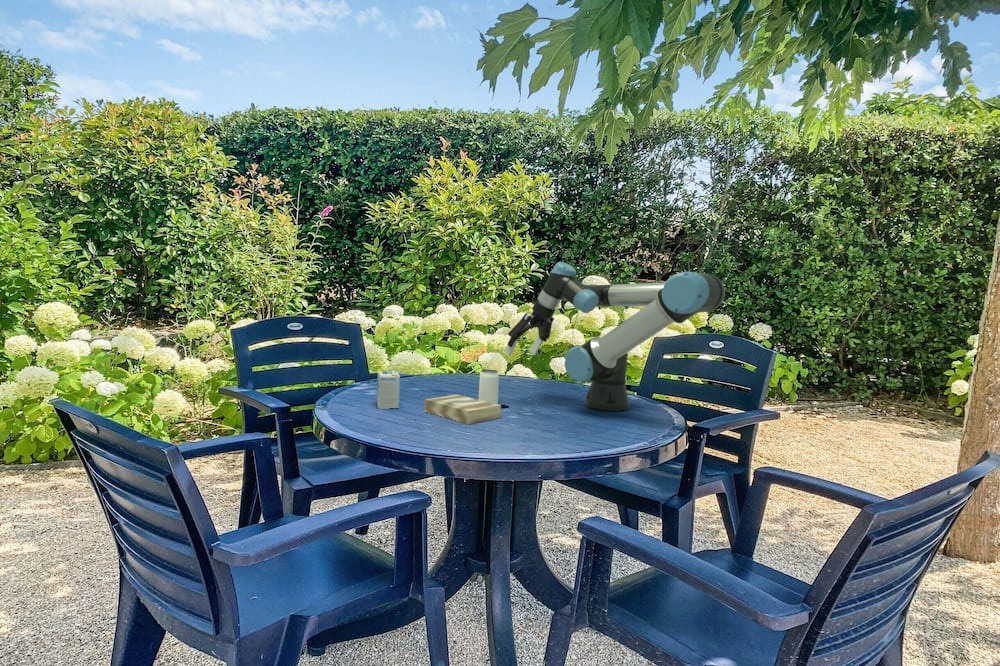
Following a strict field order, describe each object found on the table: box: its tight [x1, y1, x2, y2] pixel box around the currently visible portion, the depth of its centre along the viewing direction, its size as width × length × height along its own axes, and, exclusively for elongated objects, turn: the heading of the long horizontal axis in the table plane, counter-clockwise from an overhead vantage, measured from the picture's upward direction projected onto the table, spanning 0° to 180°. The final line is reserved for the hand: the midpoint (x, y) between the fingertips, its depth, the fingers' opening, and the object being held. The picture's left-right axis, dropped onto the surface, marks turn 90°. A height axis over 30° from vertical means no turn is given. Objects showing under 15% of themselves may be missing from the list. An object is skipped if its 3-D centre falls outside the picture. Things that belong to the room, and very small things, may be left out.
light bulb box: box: [376, 370, 401, 410], centre depth 199 cm, size 11×7×11 cm, turn 15°
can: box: [478, 369, 500, 404], centre depth 205 cm, size 6×6×12 cm
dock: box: [423, 394, 502, 425], centre depth 191 cm, size 20×14×4 cm
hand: (519, 353), depth 219 cm, fingers open, 13 cm apart
